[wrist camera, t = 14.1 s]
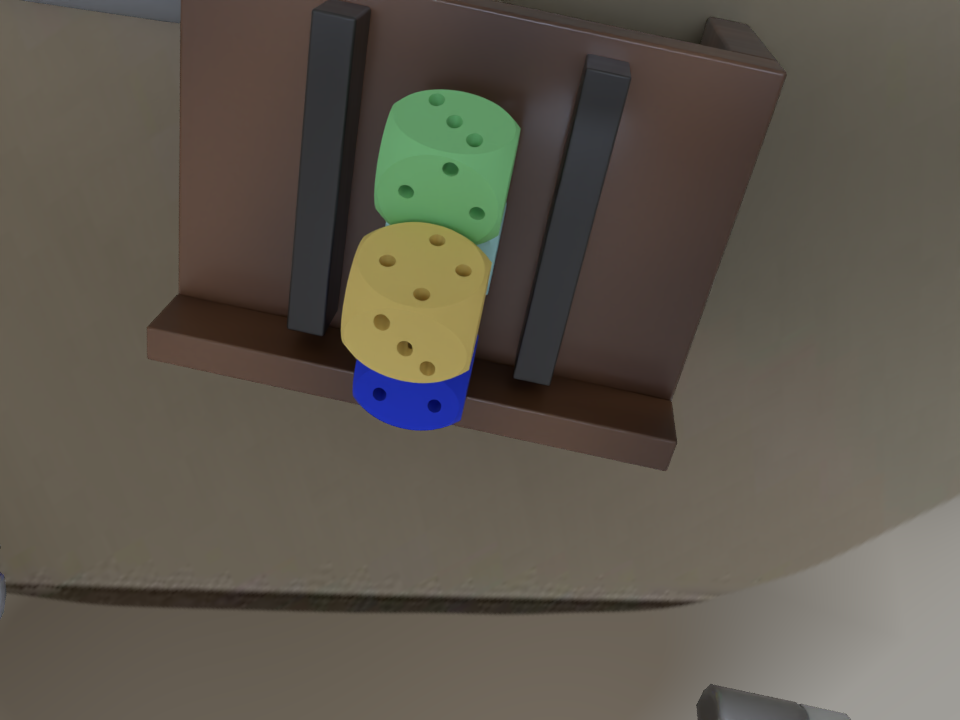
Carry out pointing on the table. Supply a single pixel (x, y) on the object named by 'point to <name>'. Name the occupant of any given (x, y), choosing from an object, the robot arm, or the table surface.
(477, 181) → the dice
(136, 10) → the half round rod
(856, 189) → the table surface
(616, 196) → the laptop stand
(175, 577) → the table surface
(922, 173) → the table surface
